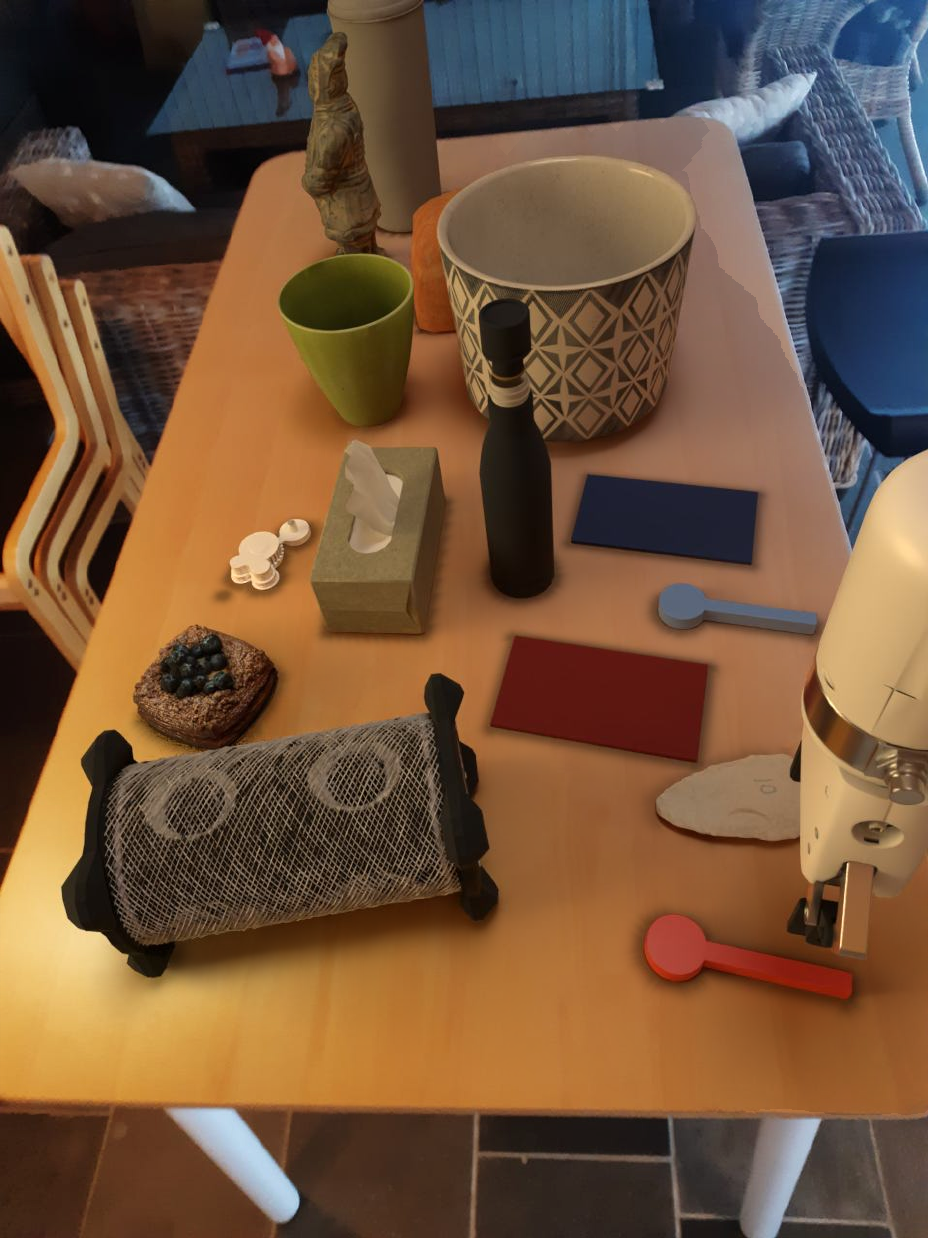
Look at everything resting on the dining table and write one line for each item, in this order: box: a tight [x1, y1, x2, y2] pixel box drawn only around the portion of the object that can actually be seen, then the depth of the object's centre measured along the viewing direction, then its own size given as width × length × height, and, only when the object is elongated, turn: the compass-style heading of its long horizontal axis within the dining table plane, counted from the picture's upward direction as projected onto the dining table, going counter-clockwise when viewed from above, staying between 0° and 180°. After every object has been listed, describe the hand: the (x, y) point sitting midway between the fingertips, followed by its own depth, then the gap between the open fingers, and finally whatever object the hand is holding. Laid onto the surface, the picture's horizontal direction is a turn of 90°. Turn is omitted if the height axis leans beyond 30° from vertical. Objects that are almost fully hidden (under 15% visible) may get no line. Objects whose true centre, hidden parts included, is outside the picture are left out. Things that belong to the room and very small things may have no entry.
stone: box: [655, 753, 801, 842], centre depth 71 cm, size 8×14×2 cm, turn 95°
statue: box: [301, 32, 387, 257], centre depth 116 cm, size 11×9×30 cm
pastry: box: [132, 623, 280, 752], centre depth 81 cm, size 11×12×6 cm
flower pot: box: [277, 254, 415, 428], centre depth 102 cm, size 15×15×16 cm
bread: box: [409, 186, 466, 333], centre depth 113 cm, size 14×33×16 cm, turn 94°
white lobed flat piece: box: [229, 518, 312, 591], centre depth 93 cm, size 9×9×2 cm
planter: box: [437, 154, 698, 443], centre depth 97 cm, size 26×26×22 cm
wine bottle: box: [478, 298, 555, 599], centre depth 77 cm, size 6×6×30 cm
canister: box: [326, 0, 443, 233], centre depth 122 cm, size 13×13×35 cm
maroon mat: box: [489, 635, 709, 763], centre depth 79 cm, size 18×10×1 cm, turn 75°
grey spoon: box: [657, 582, 818, 636], centre depth 83 cm, size 14×4×2 cm, turn 75°
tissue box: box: [308, 438, 447, 635], centre depth 86 cm, size 19×10×16 cm, turn 174°
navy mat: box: [570, 473, 759, 566], centre depth 92 cm, size 18×10×1 cm, turn 75°
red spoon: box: [644, 913, 853, 1000], centre depth 63 cm, size 14×4×2 cm, turn 75°
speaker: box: [60, 672, 500, 979], centre depth 66 cm, size 15×28×15 cm, turn 98°
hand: (815, 852), depth 52 cm, fingers open, 9 cm apart
